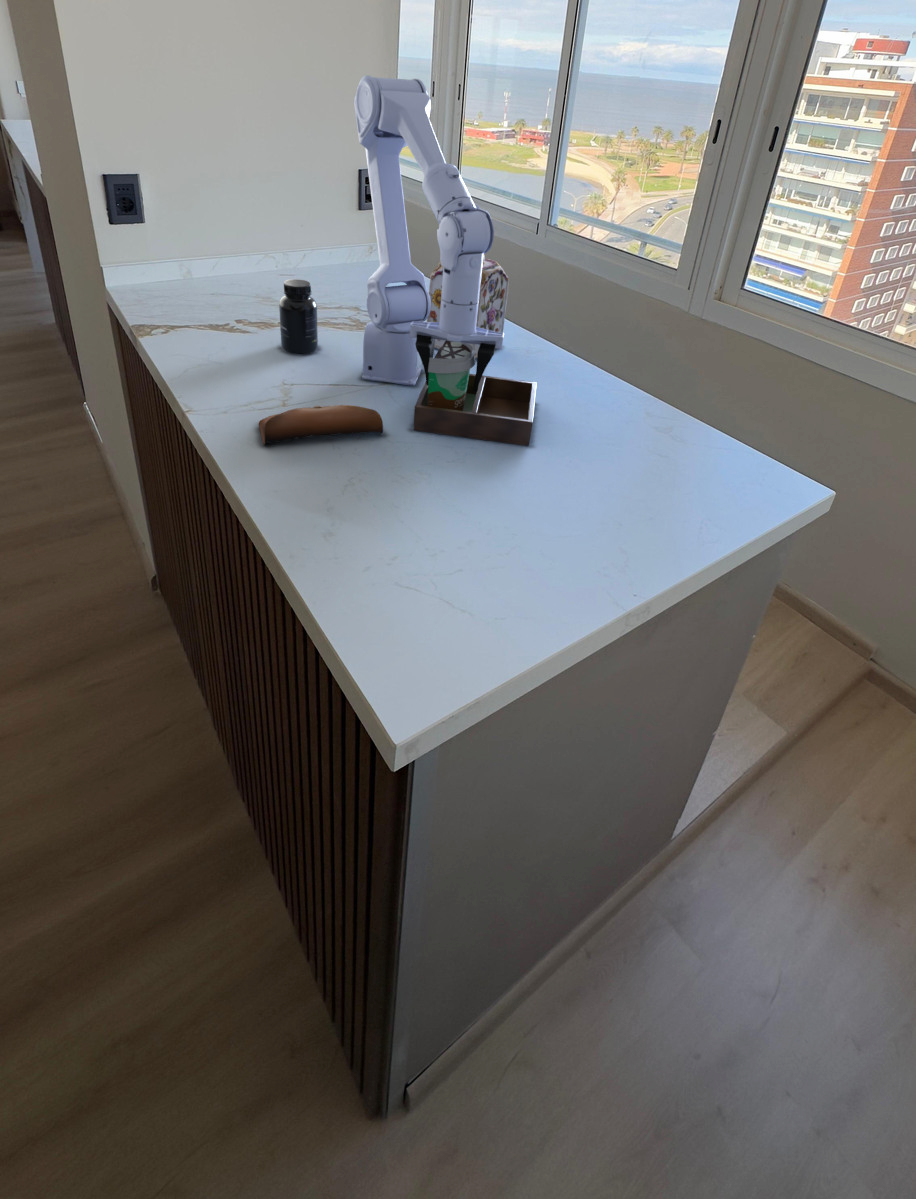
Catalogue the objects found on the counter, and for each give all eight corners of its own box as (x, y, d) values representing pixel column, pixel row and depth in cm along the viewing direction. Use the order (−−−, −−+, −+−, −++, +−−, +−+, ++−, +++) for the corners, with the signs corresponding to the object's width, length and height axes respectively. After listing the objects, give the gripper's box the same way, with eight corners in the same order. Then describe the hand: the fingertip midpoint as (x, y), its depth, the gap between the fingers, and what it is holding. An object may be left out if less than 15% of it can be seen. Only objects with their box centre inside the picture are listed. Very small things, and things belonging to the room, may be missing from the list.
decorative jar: (473, 361, 141) (483, 262, 130) (423, 346, 145) (429, 248, 134) (503, 346, 149) (515, 252, 138) (455, 332, 153) (463, 239, 142)
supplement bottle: (274, 350, 136) (269, 283, 129) (294, 340, 141) (290, 274, 134) (306, 358, 135) (303, 290, 127) (325, 347, 140) (323, 281, 132)
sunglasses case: (368, 411, 117) (374, 385, 111) (378, 448, 115) (386, 424, 109) (254, 420, 111) (255, 393, 105) (263, 460, 109) (264, 435, 103)
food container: (462, 427, 115) (468, 365, 109) (424, 420, 116) (428, 358, 110) (476, 397, 125) (482, 339, 119) (441, 392, 126) (446, 333, 119)
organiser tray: (413, 430, 115) (414, 406, 112) (429, 390, 128) (430, 368, 125) (528, 446, 114) (532, 422, 111) (533, 404, 127) (536, 382, 124)
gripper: (407, 300, 107) (404, 389, 115) (505, 313, 106) (494, 401, 115) (416, 288, 112) (411, 373, 121) (508, 299, 112) (498, 384, 120)
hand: (452, 386), depth 118 cm, fingers open, 7 cm apart
